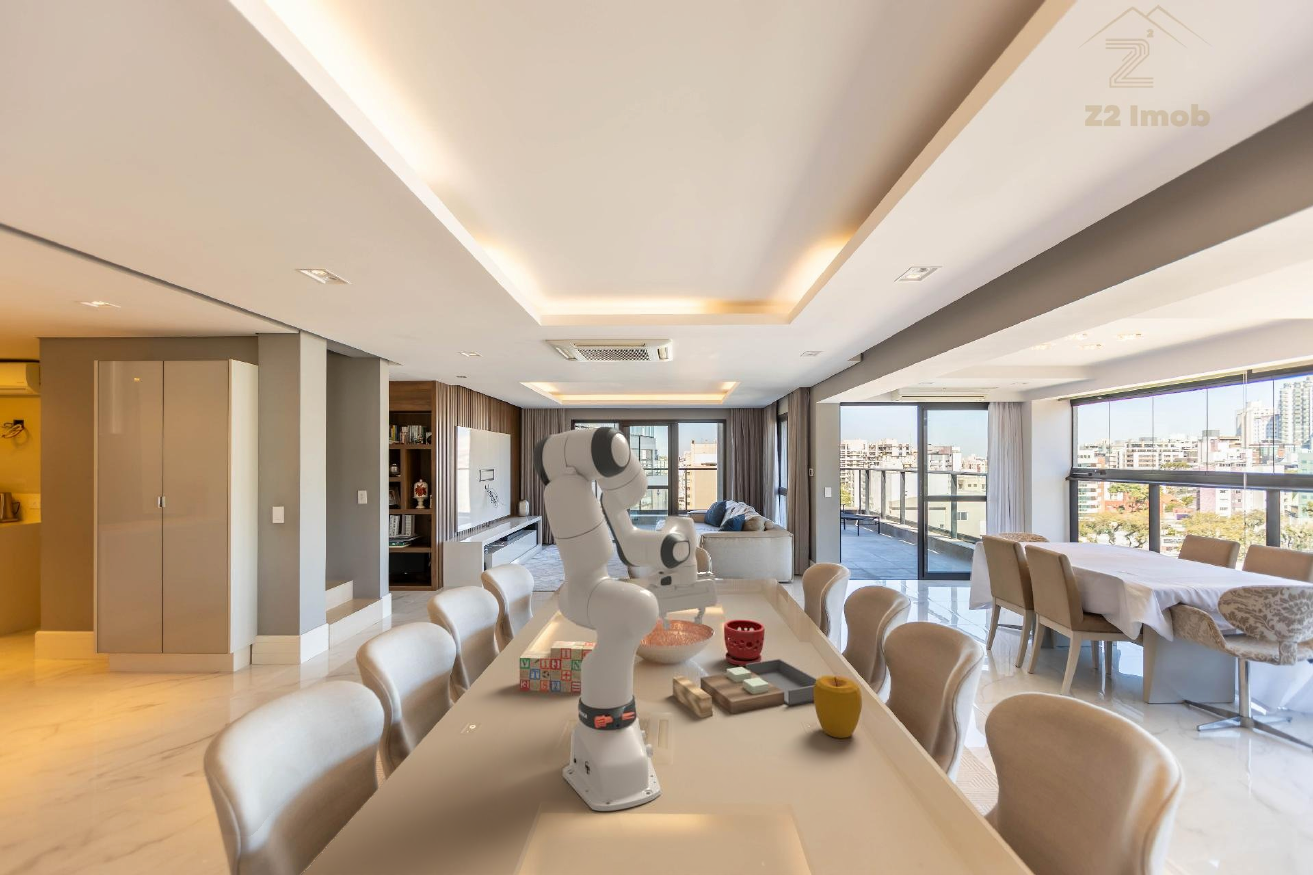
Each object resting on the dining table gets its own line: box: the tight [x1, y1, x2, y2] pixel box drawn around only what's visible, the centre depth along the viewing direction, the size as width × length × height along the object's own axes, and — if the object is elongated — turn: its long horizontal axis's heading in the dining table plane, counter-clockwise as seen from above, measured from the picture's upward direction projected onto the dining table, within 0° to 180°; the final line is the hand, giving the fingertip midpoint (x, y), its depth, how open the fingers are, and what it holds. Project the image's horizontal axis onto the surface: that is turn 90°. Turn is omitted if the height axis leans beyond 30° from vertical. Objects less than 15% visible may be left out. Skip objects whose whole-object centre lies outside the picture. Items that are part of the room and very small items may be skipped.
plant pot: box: [723, 619, 766, 667], centre depth 180 cm, size 13×13×12 cm
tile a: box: [743, 677, 769, 694], centre depth 150 cm, size 5×5×2 cm
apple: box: [813, 675, 863, 739], centre depth 131 cm, size 11×11×13 cm
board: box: [700, 670, 786, 715], centre depth 153 cm, size 18×16×3 cm
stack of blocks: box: [518, 640, 596, 693], centre depth 160 cm, size 21×6×12 cm, turn 84°
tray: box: [745, 658, 818, 707], centre depth 158 cm, size 22×12×4 cm, turn 22°
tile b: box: [726, 666, 751, 682], centre depth 158 cm, size 5×5×2 cm
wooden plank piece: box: [672, 675, 714, 719], centre depth 147 cm, size 16×3×5 cm, turn 25°
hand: (682, 626), depth 149 cm, fingers open, 8 cm apart
